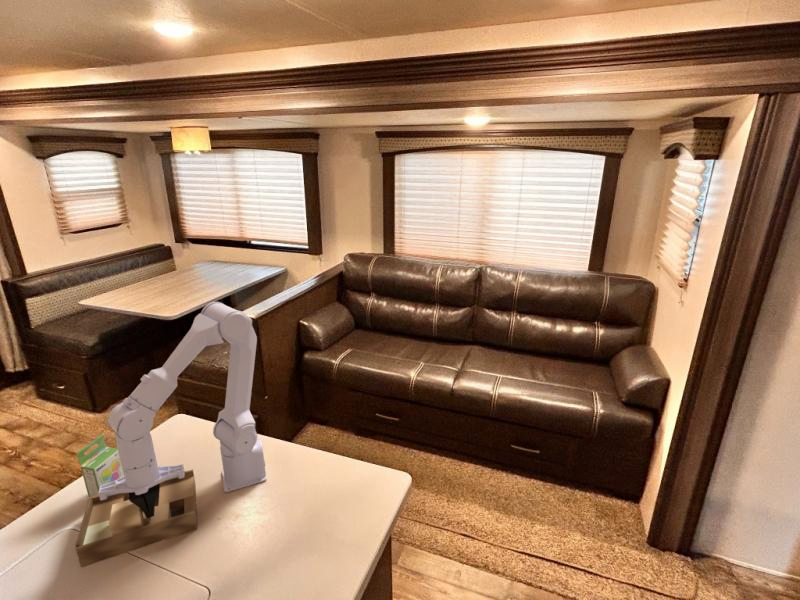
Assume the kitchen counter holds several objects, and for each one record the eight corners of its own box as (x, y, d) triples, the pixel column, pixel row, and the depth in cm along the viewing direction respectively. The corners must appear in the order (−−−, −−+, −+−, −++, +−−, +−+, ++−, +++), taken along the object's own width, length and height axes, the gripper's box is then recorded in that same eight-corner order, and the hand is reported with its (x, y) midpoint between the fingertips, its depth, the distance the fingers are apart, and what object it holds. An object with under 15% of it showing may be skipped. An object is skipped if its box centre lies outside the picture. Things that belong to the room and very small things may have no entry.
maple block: (144, 511, 88) (141, 496, 87) (142, 529, 84) (138, 513, 82) (116, 519, 86) (112, 504, 84) (113, 538, 81) (108, 522, 80)
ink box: (104, 505, 93) (90, 455, 89) (89, 502, 94) (75, 452, 90) (129, 482, 100) (117, 435, 95) (114, 480, 100) (102, 433, 96)
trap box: (195, 484, 99) (192, 467, 98) (197, 529, 87) (193, 510, 86) (94, 513, 91) (89, 495, 89) (81, 567, 79) (74, 547, 77)
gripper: (90, 484, 75) (105, 542, 79) (179, 461, 81) (189, 515, 86) (96, 460, 81) (111, 515, 85) (180, 440, 87) (189, 492, 92)
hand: (150, 513), depth 86 cm, fingers closed
